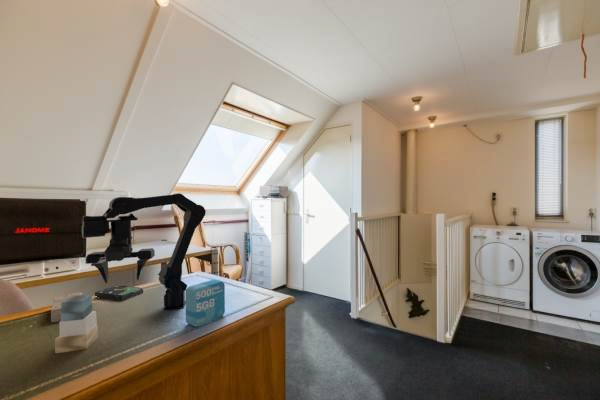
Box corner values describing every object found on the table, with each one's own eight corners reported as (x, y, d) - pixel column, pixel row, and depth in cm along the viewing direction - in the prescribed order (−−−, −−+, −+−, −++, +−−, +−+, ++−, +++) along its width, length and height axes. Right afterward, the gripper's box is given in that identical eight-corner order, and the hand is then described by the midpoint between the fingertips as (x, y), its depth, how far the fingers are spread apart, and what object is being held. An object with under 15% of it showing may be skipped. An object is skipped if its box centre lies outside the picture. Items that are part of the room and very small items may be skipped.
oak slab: (97, 337, 81) (97, 323, 81) (86, 349, 74) (86, 334, 74) (69, 341, 79) (69, 327, 79) (55, 354, 72) (55, 338, 72)
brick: (82, 317, 96) (82, 303, 96) (50, 323, 90) (49, 309, 90) (82, 303, 109) (82, 291, 109) (54, 309, 103) (54, 296, 103)
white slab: (96, 324, 80) (96, 310, 80) (85, 334, 74) (85, 319, 74) (72, 327, 79) (72, 313, 79) (59, 337, 73) (59, 322, 73)
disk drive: (94, 299, 114) (123, 301, 110) (94, 292, 114) (123, 294, 110) (116, 291, 124) (144, 293, 120) (116, 285, 124) (143, 286, 120)
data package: (193, 328, 85) (193, 289, 85) (185, 325, 88) (185, 287, 88) (225, 315, 95) (224, 280, 95) (216, 312, 98) (216, 278, 98)
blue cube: (91, 312, 79) (91, 294, 79) (83, 319, 75) (83, 300, 75) (71, 314, 78) (71, 296, 78) (61, 321, 73) (61, 302, 73)
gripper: (76, 239, 82) (77, 292, 82) (146, 236, 87) (147, 285, 87) (92, 235, 93) (94, 281, 93) (154, 232, 98) (155, 276, 98)
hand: (122, 281), depth 93 cm, fingers open, 9 cm apart
